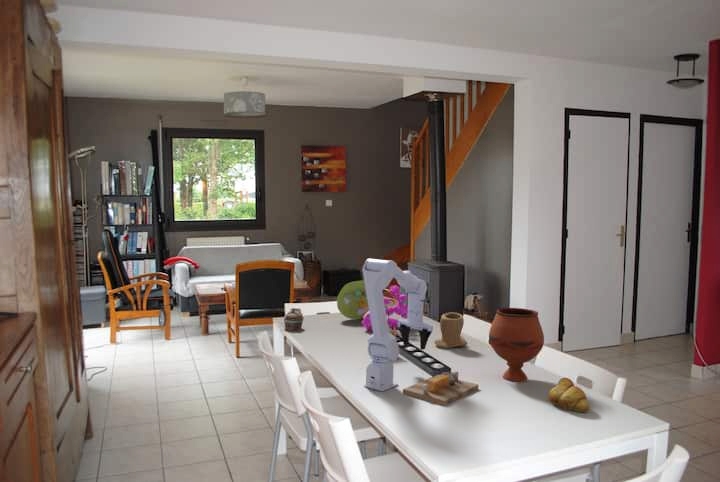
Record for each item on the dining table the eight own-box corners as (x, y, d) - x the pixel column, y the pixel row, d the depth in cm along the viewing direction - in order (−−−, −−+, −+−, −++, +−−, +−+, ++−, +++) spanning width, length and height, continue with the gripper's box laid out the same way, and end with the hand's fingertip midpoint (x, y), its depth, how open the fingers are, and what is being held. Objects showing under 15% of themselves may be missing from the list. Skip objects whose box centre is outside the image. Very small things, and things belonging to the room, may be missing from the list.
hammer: (436, 393, 182) (436, 382, 181) (425, 390, 184) (425, 379, 184) (457, 383, 192) (457, 373, 192) (446, 380, 195) (446, 370, 194)
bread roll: (596, 412, 172) (597, 387, 172) (571, 416, 168) (573, 390, 168) (565, 398, 184) (566, 375, 183) (542, 402, 180) (543, 378, 179)
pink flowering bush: (381, 263, 304) (417, 281, 274) (387, 310, 313) (422, 332, 283) (331, 279, 291) (363, 299, 261) (340, 328, 300) (371, 353, 270)
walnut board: (444, 405, 175) (445, 391, 174) (402, 393, 185) (403, 380, 184) (478, 388, 191) (478, 375, 191) (438, 378, 202) (438, 366, 201)
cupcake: (285, 326, 281) (285, 306, 280) (304, 326, 280) (304, 307, 280) (282, 330, 271) (282, 310, 270) (301, 331, 271) (302, 310, 270)
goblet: (481, 370, 213) (483, 305, 211) (530, 370, 214) (533, 306, 213) (496, 386, 194) (499, 315, 192) (550, 386, 195) (553, 316, 194)
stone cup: (446, 351, 239) (448, 317, 238) (430, 345, 250) (431, 312, 249) (474, 348, 247) (475, 314, 246) (457, 341, 257) (458, 309, 256)
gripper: (437, 312, 206) (436, 348, 207) (405, 306, 215) (404, 341, 216) (427, 315, 200) (426, 352, 201) (394, 309, 210) (393, 345, 211)
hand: (414, 347), depth 208 cm, fingers open, 7 cm apart
